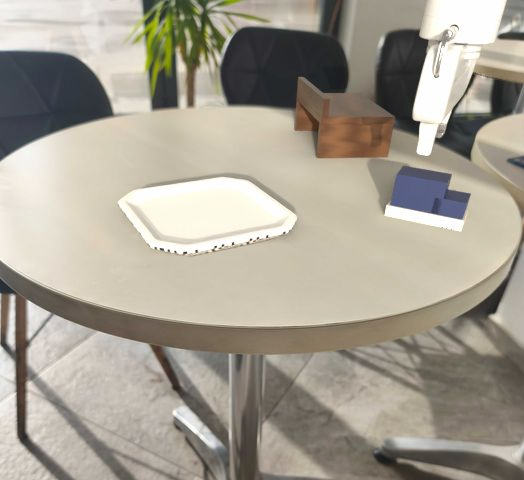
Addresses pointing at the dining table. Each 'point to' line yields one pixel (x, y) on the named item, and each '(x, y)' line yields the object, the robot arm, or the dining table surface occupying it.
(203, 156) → the dining table surface
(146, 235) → the plate
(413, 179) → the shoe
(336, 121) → the shoe shelf
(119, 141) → the dining table surface
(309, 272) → the dining table surface
